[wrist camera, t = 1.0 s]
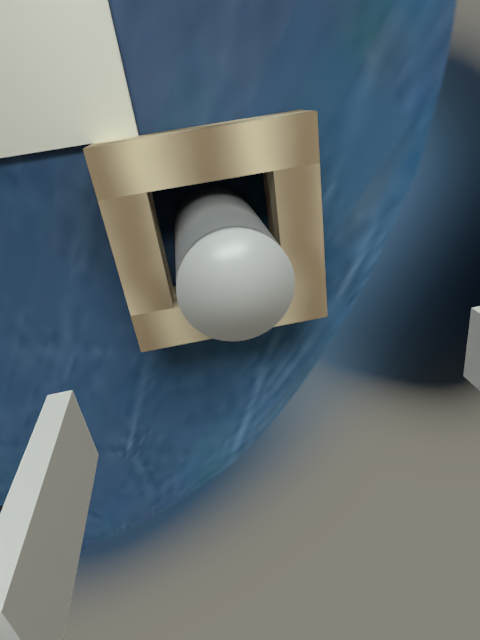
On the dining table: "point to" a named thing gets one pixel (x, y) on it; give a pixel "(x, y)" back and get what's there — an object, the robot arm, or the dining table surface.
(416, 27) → the dining table surface
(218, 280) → the grey domed cylinder
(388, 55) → the dining table surface
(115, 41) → the pad
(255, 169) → the housing
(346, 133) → the dining table surface
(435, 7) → the dining table surface
